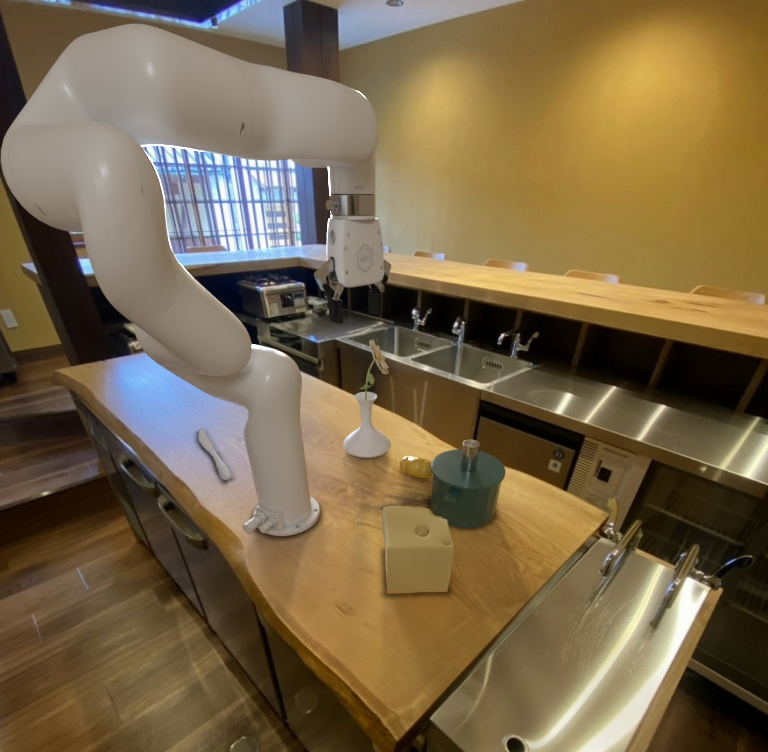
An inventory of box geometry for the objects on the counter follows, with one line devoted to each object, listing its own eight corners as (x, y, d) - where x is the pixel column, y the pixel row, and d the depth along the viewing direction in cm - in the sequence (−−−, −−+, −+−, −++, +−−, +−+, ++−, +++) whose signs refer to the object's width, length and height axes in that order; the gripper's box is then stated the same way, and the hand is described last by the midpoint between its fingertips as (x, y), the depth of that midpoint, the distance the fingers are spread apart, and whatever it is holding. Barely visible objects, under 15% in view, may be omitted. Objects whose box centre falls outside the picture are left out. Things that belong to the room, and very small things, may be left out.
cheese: (440, 549, 75) (446, 503, 69) (450, 596, 66) (457, 549, 60) (382, 550, 74) (382, 504, 68) (383, 597, 66) (384, 550, 60)
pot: (505, 493, 88) (513, 456, 83) (478, 544, 76) (485, 504, 70) (448, 477, 93) (453, 441, 87) (414, 523, 80) (416, 484, 75)
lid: (512, 464, 81) (519, 436, 78) (492, 501, 72) (498, 471, 68) (446, 447, 86) (449, 420, 83) (419, 480, 77) (421, 450, 73)
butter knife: (218, 480, 90) (232, 475, 92) (194, 431, 109) (205, 427, 110) (219, 482, 91) (233, 478, 92) (194, 433, 109) (206, 429, 110)
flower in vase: (378, 467, 96) (377, 355, 81) (334, 456, 100) (326, 347, 84) (400, 442, 105) (404, 337, 90) (360, 433, 109) (356, 331, 94)
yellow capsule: (436, 475, 94) (437, 458, 91) (428, 484, 91) (430, 468, 88) (404, 466, 97) (405, 450, 94) (396, 475, 94) (396, 458, 91)
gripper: (325, 210, 64) (332, 330, 74) (405, 208, 73) (401, 314, 84) (296, 208, 68) (307, 322, 78) (375, 206, 78) (375, 308, 88)
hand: (356, 318), depth 81 cm, fingers open, 9 cm apart
